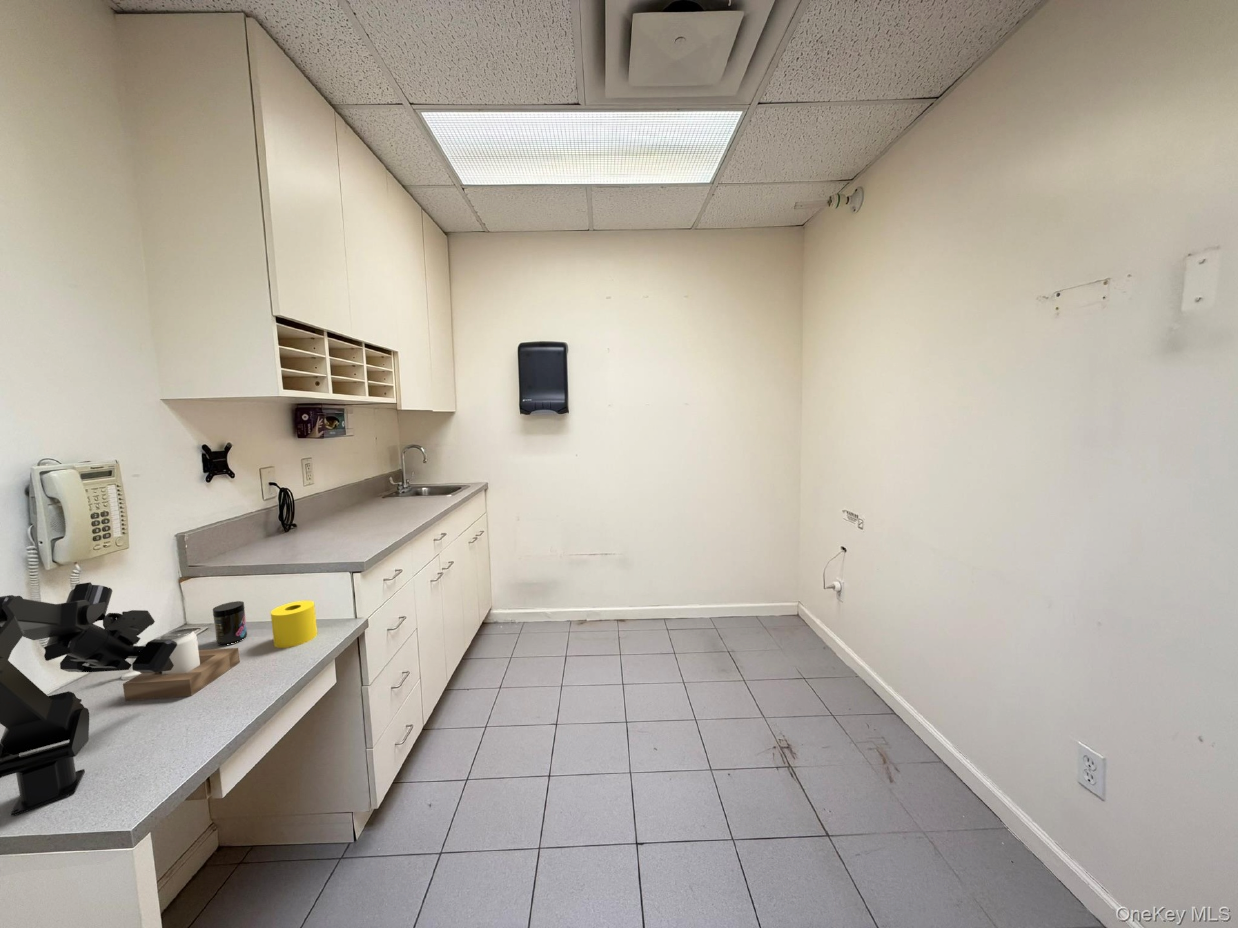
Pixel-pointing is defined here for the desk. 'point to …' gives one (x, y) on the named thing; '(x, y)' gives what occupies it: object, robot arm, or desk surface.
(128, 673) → the chess piece
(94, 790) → the desk surface
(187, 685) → the bored block
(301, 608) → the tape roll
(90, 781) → the desk surface
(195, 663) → the can
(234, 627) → the supplement container
